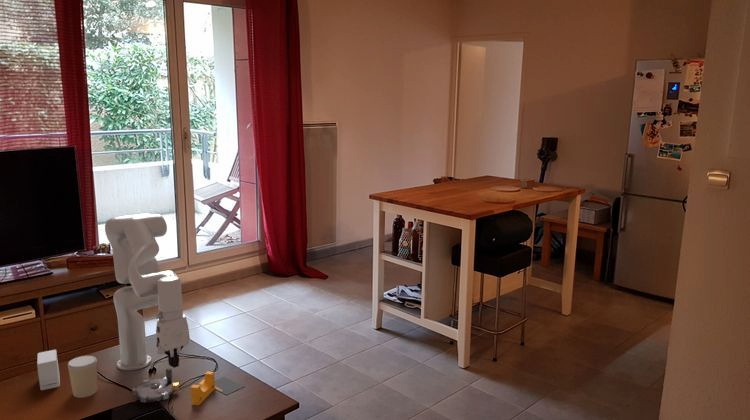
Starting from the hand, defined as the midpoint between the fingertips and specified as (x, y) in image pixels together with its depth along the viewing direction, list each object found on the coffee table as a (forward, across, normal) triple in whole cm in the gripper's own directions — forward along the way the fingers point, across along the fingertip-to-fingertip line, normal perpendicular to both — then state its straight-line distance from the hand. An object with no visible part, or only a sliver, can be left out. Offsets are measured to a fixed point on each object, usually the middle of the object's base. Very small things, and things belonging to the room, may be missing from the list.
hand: (174, 365), depth 195 cm
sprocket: (+14, 0, +13) cm, 19 cm away
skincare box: (+15, -20, +51) cm, 57 cm away
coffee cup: (+15, -15, +34) cm, 40 cm away
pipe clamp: (+15, +10, 0) cm, 18 cm away
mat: (+15, +20, 0) cm, 25 cm away
